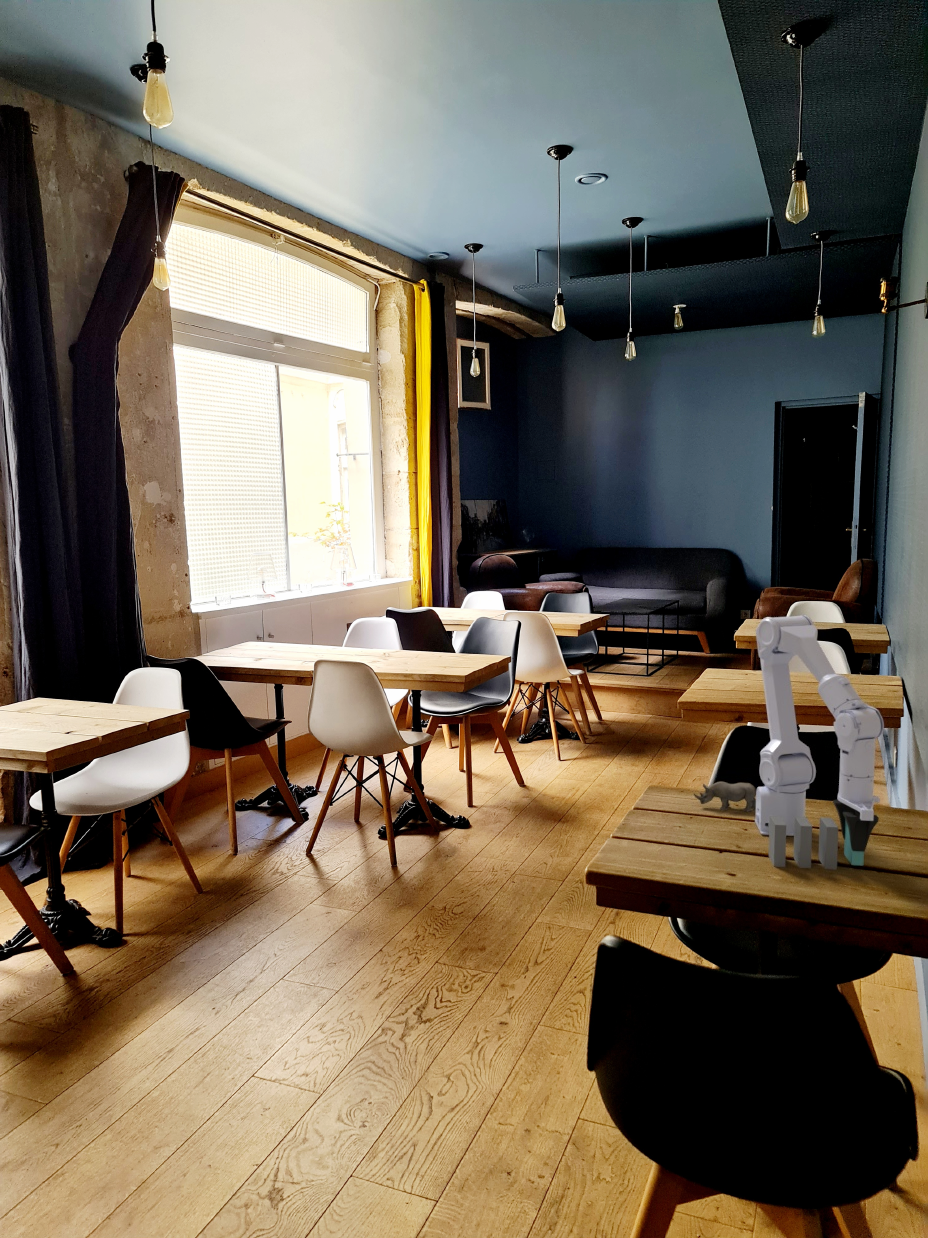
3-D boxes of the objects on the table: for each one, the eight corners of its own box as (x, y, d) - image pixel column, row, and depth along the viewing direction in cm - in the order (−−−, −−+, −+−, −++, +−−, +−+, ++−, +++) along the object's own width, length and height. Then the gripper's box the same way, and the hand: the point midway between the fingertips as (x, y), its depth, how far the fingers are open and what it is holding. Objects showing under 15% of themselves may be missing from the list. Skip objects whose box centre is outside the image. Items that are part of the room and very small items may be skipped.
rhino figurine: (692, 803, 193) (693, 777, 192) (756, 806, 190) (757, 780, 189) (693, 809, 189) (694, 783, 188) (759, 813, 186) (759, 786, 185)
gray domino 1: (773, 866, 158) (774, 825, 157) (768, 856, 163) (769, 815, 162) (785, 867, 158) (786, 825, 157) (779, 856, 162) (780, 816, 161)
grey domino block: (825, 869, 156) (826, 827, 155) (818, 858, 161) (819, 817, 160) (836, 869, 156) (838, 827, 155) (829, 858, 161) (831, 817, 160)
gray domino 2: (799, 868, 157) (800, 826, 156) (793, 857, 162) (794, 816, 161) (810, 868, 157) (812, 826, 156) (804, 857, 162) (805, 817, 161)
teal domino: (851, 865, 156) (853, 822, 155) (844, 854, 160) (845, 813, 160) (863, 865, 155) (865, 823, 154) (855, 854, 160) (856, 813, 159)
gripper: (893, 786, 148) (890, 861, 150) (867, 762, 162) (865, 831, 164) (850, 785, 149) (847, 859, 151) (828, 761, 163) (826, 830, 165)
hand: (853, 845), depth 158 cm, fingers closed on teal domino, 5 cm apart
